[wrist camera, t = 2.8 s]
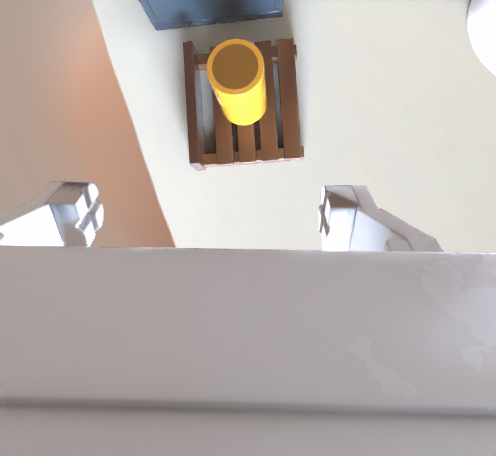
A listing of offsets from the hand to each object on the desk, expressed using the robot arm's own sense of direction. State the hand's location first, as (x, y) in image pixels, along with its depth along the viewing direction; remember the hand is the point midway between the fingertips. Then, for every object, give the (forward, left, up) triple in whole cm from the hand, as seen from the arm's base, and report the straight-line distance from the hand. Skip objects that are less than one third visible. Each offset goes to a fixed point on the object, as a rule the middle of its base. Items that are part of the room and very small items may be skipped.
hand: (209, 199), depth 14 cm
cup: (0, -14, -26) cm, 29 cm away
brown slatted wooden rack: (0, -14, -28) cm, 31 cm away
